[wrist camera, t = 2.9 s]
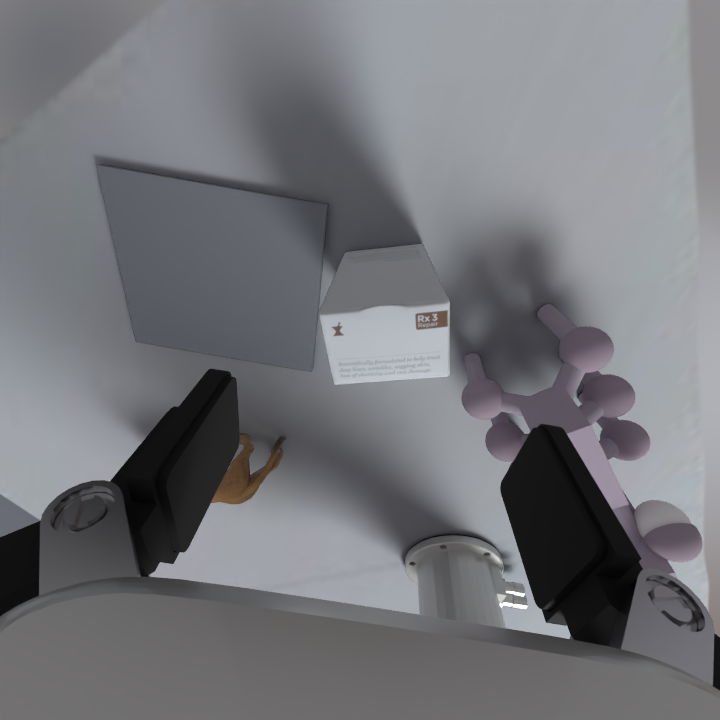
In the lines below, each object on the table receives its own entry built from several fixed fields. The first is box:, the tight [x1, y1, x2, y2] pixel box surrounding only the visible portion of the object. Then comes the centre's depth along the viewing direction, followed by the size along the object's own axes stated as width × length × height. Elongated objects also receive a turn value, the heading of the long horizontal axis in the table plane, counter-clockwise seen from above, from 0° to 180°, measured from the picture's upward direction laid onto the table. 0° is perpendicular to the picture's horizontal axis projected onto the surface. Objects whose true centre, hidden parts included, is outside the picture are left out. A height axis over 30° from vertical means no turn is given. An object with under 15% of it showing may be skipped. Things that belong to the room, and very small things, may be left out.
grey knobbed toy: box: [462, 304, 702, 578], centre depth 26 cm, size 20×11×14 cm, turn 35°
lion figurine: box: [211, 434, 286, 504], centre depth 35 cm, size 15×5×9 cm, turn 119°
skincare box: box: [318, 244, 450, 385], centre depth 21 cm, size 6×4×12 cm
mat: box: [96, 165, 328, 372], centre depth 28 cm, size 16×14×1 cm
